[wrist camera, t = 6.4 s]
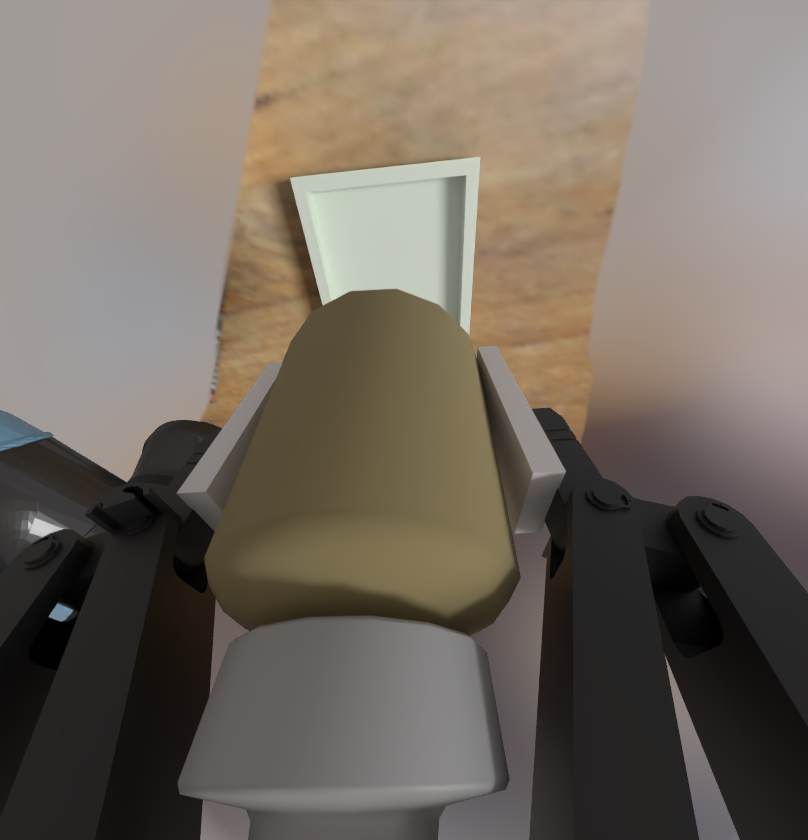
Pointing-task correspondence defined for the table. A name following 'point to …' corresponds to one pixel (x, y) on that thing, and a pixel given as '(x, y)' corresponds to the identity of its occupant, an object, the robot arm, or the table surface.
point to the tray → (394, 231)
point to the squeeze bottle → (360, 585)
